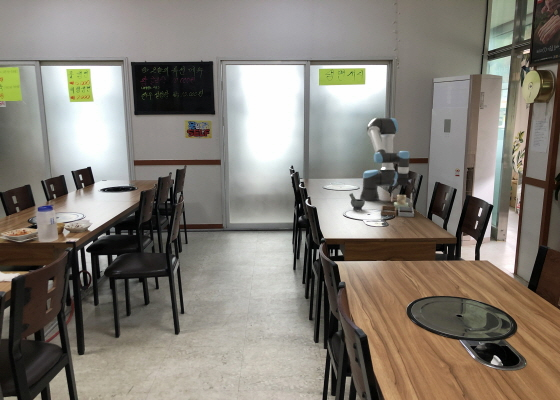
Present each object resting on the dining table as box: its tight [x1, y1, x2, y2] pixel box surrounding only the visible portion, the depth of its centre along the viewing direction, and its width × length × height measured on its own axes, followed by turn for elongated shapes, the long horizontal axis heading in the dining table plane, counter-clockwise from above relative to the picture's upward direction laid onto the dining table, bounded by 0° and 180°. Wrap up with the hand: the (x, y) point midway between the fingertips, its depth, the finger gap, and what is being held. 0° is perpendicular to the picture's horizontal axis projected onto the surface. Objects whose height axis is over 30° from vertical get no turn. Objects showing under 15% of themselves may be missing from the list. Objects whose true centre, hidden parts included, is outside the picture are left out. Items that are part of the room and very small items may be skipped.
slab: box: [393, 201, 410, 211], centre depth 329 cm, size 10×10×4 cm
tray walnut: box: [380, 205, 397, 217], centre depth 316 cm, size 20×10×2 cm, turn 166°
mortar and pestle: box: [349, 192, 366, 211], centre depth 323 cm, size 11×9×12 cm
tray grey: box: [397, 206, 415, 218], centre depth 313 cm, size 20×10×2 cm, turn 166°
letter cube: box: [396, 194, 407, 205], centre depth 328 cm, size 6×6×6 cm
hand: (401, 201), depth 328 cm, fingers open, 13 cm apart
